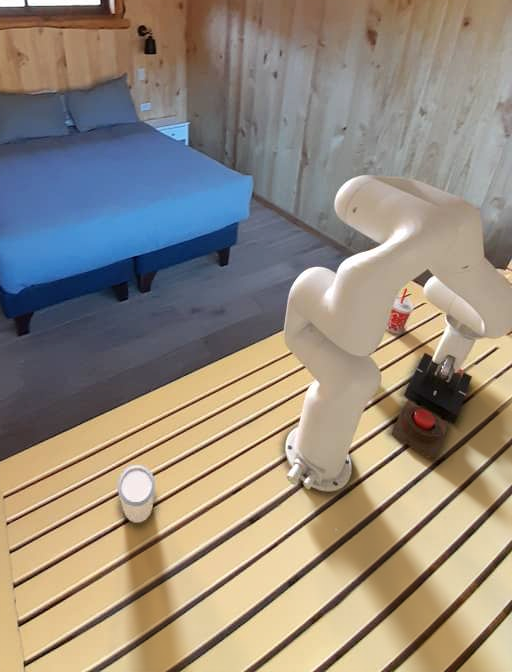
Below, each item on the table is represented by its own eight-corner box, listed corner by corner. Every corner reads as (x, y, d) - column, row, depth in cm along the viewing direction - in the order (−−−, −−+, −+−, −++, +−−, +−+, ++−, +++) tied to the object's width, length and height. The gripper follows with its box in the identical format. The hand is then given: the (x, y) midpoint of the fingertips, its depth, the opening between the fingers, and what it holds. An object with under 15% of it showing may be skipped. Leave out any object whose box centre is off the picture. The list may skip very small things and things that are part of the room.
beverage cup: (376, 320, 116) (388, 282, 109) (395, 318, 116) (409, 280, 110) (389, 336, 110) (403, 297, 104) (410, 334, 111) (425, 295, 105)
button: (430, 433, 83) (432, 428, 83) (410, 421, 86) (413, 416, 85) (434, 421, 86) (437, 416, 85) (415, 410, 88) (418, 405, 87)
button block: (433, 461, 81) (438, 451, 80) (390, 434, 87) (395, 424, 85) (446, 427, 88) (451, 417, 86) (405, 403, 93) (409, 393, 91)
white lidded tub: (142, 535, 71) (141, 515, 68) (112, 511, 75) (109, 491, 71) (162, 498, 76) (162, 477, 73) (132, 477, 80) (131, 457, 77)
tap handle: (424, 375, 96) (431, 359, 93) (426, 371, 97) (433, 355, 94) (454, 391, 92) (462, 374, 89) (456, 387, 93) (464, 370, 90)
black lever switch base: (454, 424, 88) (458, 415, 87) (403, 395, 95) (406, 386, 93) (468, 385, 97) (472, 376, 95) (420, 360, 103) (424, 351, 102)
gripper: (456, 293, 93) (433, 345, 101) (436, 332, 82) (412, 388, 90) (496, 309, 88) (469, 363, 96) (481, 354, 78) (451, 410, 85)
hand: (441, 375), depth 93 cm, fingers open, 9 cm apart
